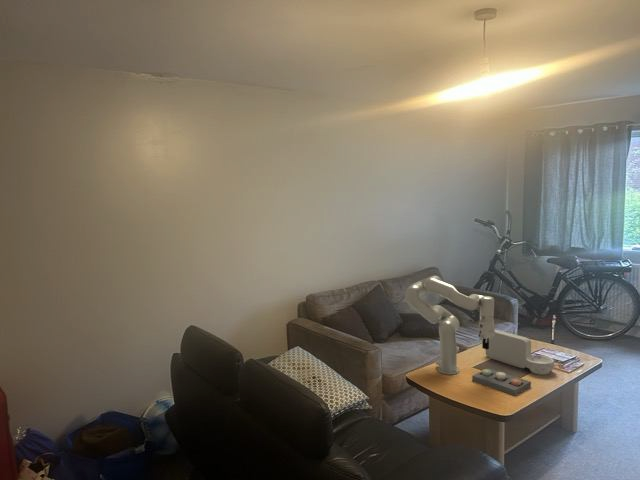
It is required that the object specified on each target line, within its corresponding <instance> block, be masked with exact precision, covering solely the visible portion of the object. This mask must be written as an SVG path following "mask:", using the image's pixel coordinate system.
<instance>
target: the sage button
mask: <svg viewBox="0 0 640 480" xmlns="http://www.w3.org/2000/svg"><path fill="white" fill-rule="evenodd" d="M481 371H482V375H484V376H487V377H489V376H491V370H488V368H485V369H484V368H483V369H482V370H481Z"/></svg>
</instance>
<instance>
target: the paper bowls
mask: <svg viewBox="0 0 640 480" xmlns="http://www.w3.org/2000/svg"><path fill="white" fill-rule="evenodd" d="M526 368H527V369H529V371H530V372H531V373H532V374H535V375H540V376H542V375H544V376H545V375H546V376H547V375H549V374H550V372H552V371H554V370H555V369H554V368H555V361H554V358H551V357H549V356H546V355H542V354H541V355H539V354H531V356H528V357H526Z"/></svg>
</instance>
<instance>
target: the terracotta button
mask: <svg viewBox="0 0 640 480" xmlns="http://www.w3.org/2000/svg"><path fill="white" fill-rule="evenodd" d="M511 385H514V386H517V387H519V386H521V380H519V379H511Z"/></svg>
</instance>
